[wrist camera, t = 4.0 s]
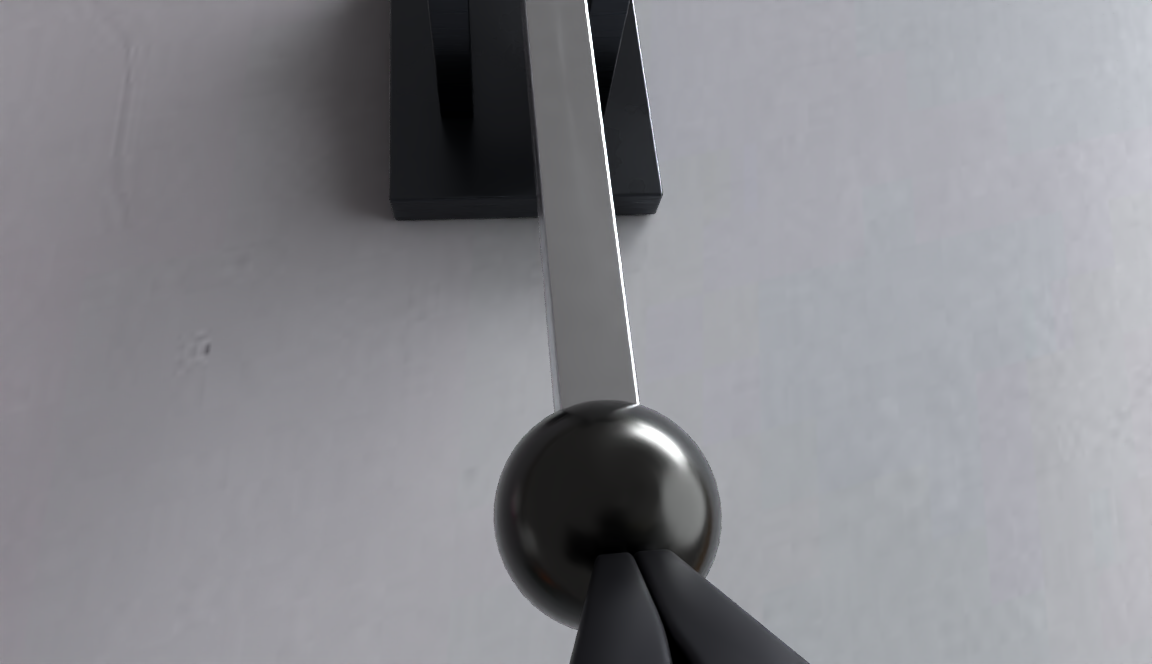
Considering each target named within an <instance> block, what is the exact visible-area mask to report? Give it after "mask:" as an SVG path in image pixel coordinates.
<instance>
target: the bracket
mask: <svg viewBox="0 0 1152 664" xmlns="http://www.w3.org/2000/svg"><path fill="white" fill-rule="evenodd" d="M587 5H588V13H589V20H590V28H591V35H592V43H593V50H594V58H595V66H596V73H597V81H598V88H599V96H600V103H601V111H602V119H603V126H604V134H605V141H606V149H607V156H608V164H609V172H610V179H611V187H612V194H613V202H614V209H615V215H641V214H655V213H656V210H657V208H658V205H659V203H660V200H661V198H662V195H663V191H662V184H661V178H660V171H659V165H658V158H657V151H656V145H655V138H654V132H653V125H652V118H651V112H650V105H649V99H648V92H647V86H646V79H645V72H644V66H643V59H642V53H641V46H640V40H639V33H638V26H637V20H636V13H635V7H634V0H587ZM389 200H390V203H391V207H392V211H393V215H394V218H395V220H436V219H477V218H518V217H538V212H537V200H536V188H535V176H534V164H533V152H532V140H531V128H530V116H529V104H528V92H527V80H526V68H525V56H524V44H523V32H522V20H521V8H520V0H390V188H389Z"/></svg>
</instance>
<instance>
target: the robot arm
mask: <svg viewBox="0 0 1152 664" xmlns="http://www.w3.org/2000/svg"><path fill="white" fill-rule="evenodd" d="M570 664H809V663H808V662H807V661H806V660H805V659H803V658H802V657H801V656H800V655H798V654H797V653H796V652H795V651H793V650H792V649H791V648H790V647H789V646H787V645H786V644H785V643H784V642H782V641H781V640H780V639H779V638H778V637H776V636H775V635H774V634H773V633H771V632H770V631H769V630H768V629H766V628H765V627H764V626H763V625H762V624H760V623H759V622H758V621H757V620H755V619H754V618H753V617H752V616H751V615H749V614H748V613H747V612H746V611H744V610H743V609H742V608H741V607H739V606H738V605H737V604H736V603H735V602H733V601H732V600H731V599H730V598H728V597H727V596H726V595H725V594H724V593H722V592H721V591H720V590H719V589H717V588H716V587H715V586H714V585H712V584H711V583H710V582H709V581H708V580H706V579H705V578H704V577H703V576H701V575H700V574H699V573H698V572H696V571H695V570H694V569H693V568H692V567H690V566H689V565H688V564H687V563H685V562H684V561H683V560H682V559H681V558H679V557H678V556H677V555H676V554H674V553H673V552H672V551H670V550H667V549H659V550H648V551H639V552H636V553H635V554H634V556H632V555H631V554H630V553H626V552H625V553H613V554H602V555H599V556H598V557H597V558H596V560H595V563H594V567H593V571H592V575H591V579H590V583H589V587H588V591H587V595H586V599H585V603H584V607H583V612H582V616H581V620H580V624H579V628H578V632H577V636H576V640H575V644H574V648H573V652H572V656H571V660H570Z"/></svg>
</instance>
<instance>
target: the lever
mask: <svg viewBox="0 0 1152 664" xmlns="http://www.w3.org/2000/svg"><path fill="white" fill-rule="evenodd" d="M520 8H521V20H522V32H523V44H524V56H525V68H526V80H527V92H528V104H529V116H530V128H531V140H532V152H533V164H534V176H535V188H536V200H537V212H538V224H539V236H540V248H541V260H542V272H543V284H544V296H545V308H546V320H547V332H548V344H549V356H550V368H551V380H552V392H553V404H554V413H553V414H551V415H549V416H548V417H546V418H545V419H543V420H542V421H541V422H539V423H538V424H537V425H535V426H534V427H533V428H532V429H531V430H530V431H529V432H528V433H527V434H526V435H525V436H524V437H523V438H522V439H521V440H520V442H519V443H518V444H517V445H516V447H515V448H514V450H513V451H512V453H511V455H510V456H509V458H508V460H507V462H506V464H505V466H504V469H503V471H502V473H501V476H500V479H499V483H498V486H497V490H496V495H495V502H494V530H495V538H496V542H497V546H498V550H499V553H500V556H501V558H502V561H503V563H504V566H505V568H506V570H507V572H508V574H509V575H510V577H511V579H512V581H513V582H514V583H515V585H516V586H517V588H518V589H519V590H520V592H521V593H522V594H523V595H524V596H525V597H526V598H527V599H528V600H529V601H530V602H531V604H532V605H534V606H535V607H536V608H537V609H539V610H540V611H541V612H542V613H544V614H545V615H547V616H548V617H550V618H552V619H553V620H555V621H557V622H558V623H561V624H563V625H565V626H568V627H570V628H573V629H576V630H578V628H579V624H580V620H581V616H582V612H583V607H584V603H585V599H586V595H587V591H588V587H589V583H590V579H591V575H592V571H593V567H594V563H595V560H596V558H597V557H598V556H599V555H602V554H613V553H625V552H626V553H630V554H631V555H632V556H634V554H635V553H636V552H639V551H648V550H659V549H667V550H670V551H672V552H673V553H674V554H676V555H677V556H678V557H679V558H681V559H682V560H683V561H684V562H685V563H687V564H688V565H689V566H690V567H692V568H693V569H694V570H695V571H696V572H698V573H699V574H700V575H701V576H703V577H704V578H706V576H707V575H708V573H709V571H710V568H711V566H712V564H713V561H714V559H715V556H716V553H717V549H718V546H719V541H720V534H721V519H722V513H721V503H720V497H719V492H718V488H717V484H716V481H715V478H714V475H713V473H712V470H711V468H710V466H709V464H708V462H707V460H706V458H705V456H704V455H703V453H702V452H701V450H700V449H699V447H698V446H697V444H696V443H695V442H694V441H693V440H692V439H691V437H690V436H689V435H688V434H687V433H686V432H685V431H684V430H683V429H682V428H680V427H679V426H678V425H677V424H676V423H674V422H673V421H671V420H670V419H669V418H667V417H666V416H664V415H662V414H660V413H658V412H657V411H655V410H652V409H650V408H647V407H645V406H642V405H640V399H639V391H638V384H637V376H636V369H635V361H634V353H633V346H632V338H631V331H630V323H629V316H628V308H627V300H626V293H625V285H624V278H623V270H622V262H621V255H620V247H619V240H618V232H617V225H616V217H615V209H614V202H613V194H612V187H611V179H610V172H609V164H608V156H607V149H606V141H605V134H604V126H603V119H602V111H601V103H600V96H599V88H598V81H597V73H596V66H595V58H594V50H593V43H592V35H591V28H590V20H589V13H588V5H587V0H520Z"/></svg>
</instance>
